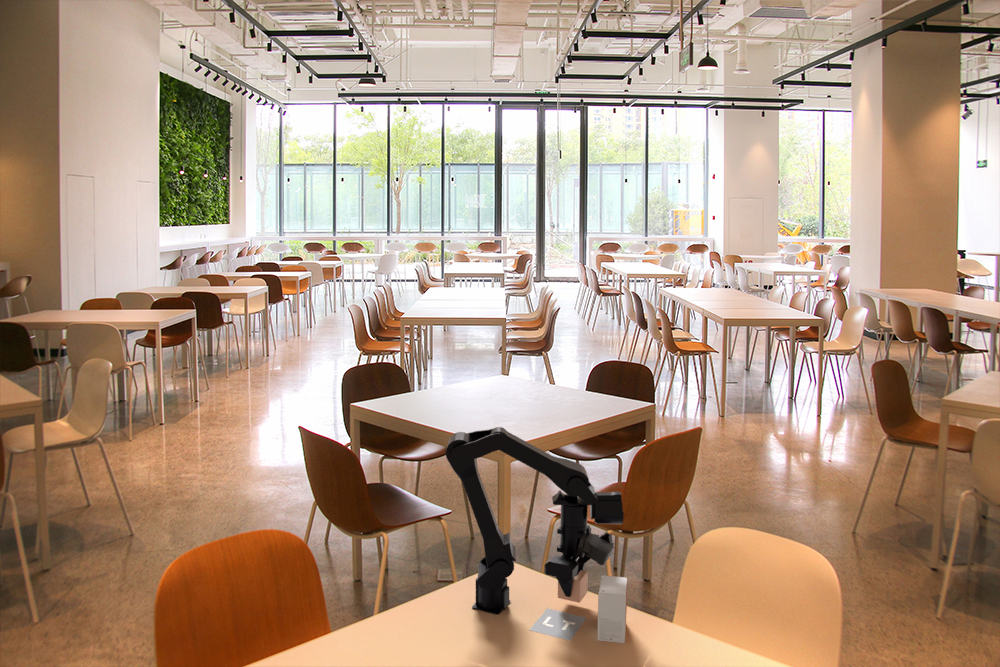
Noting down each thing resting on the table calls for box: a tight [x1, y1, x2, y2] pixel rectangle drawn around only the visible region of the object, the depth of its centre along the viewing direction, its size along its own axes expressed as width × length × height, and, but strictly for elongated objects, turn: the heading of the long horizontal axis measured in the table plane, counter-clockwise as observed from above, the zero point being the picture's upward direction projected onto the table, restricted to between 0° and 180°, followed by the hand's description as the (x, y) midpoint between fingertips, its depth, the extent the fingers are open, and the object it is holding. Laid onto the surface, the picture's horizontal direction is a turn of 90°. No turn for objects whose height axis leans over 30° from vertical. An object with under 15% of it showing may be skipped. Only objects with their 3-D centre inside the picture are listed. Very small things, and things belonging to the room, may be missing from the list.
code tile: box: [529, 607, 587, 642], centre depth 161 cm, size 9×10×1 cm
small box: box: [596, 574, 629, 644], centre depth 157 cm, size 8×6×10 cm
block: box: [557, 569, 589, 604], centre depth 167 cm, size 5×5×5 cm
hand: (572, 591), depth 168 cm, fingers closed on block, 5 cm apart
